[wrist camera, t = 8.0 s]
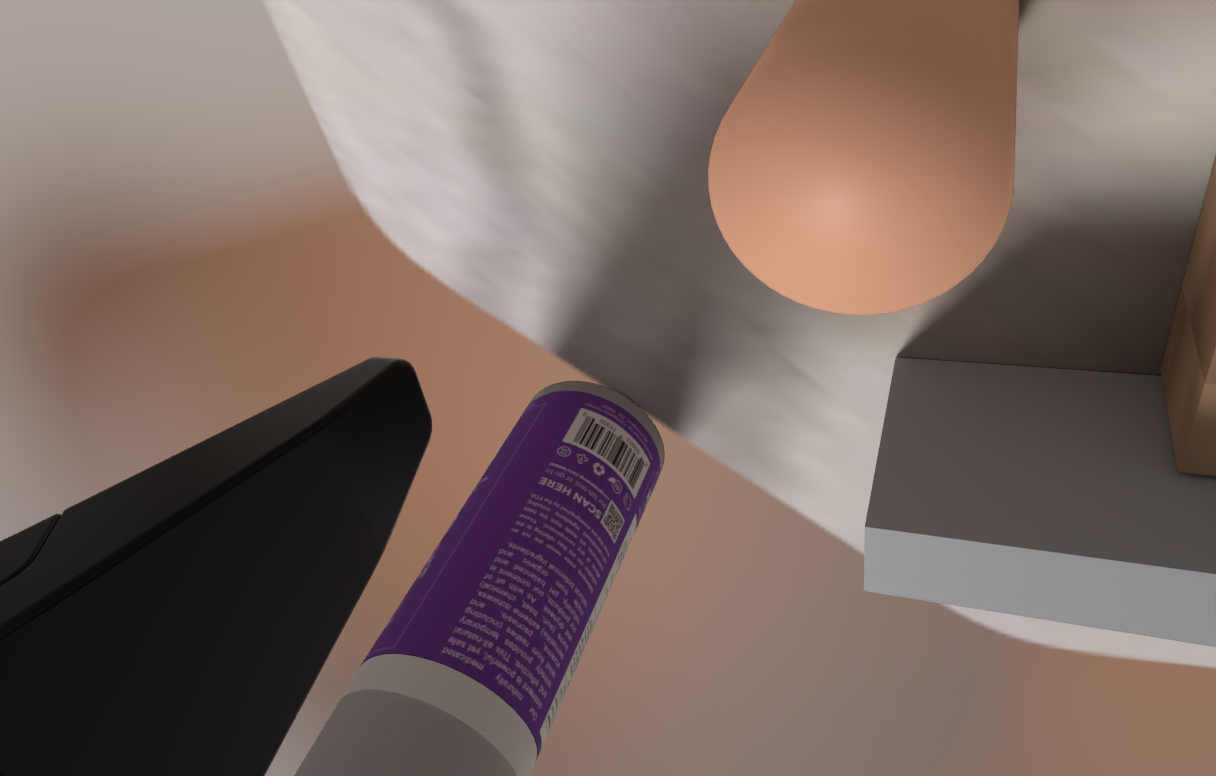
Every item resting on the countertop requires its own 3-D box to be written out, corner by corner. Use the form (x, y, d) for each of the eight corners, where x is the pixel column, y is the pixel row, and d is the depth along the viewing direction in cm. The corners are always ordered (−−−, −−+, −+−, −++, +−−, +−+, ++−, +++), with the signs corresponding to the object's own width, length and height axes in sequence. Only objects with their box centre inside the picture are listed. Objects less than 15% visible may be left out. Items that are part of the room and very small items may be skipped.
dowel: (1032, -115, 16) (1032, 30, 10) (1007, 105, 19) (998, 322, 13) (805, -92, 18) (694, 46, 12) (809, 110, 20) (720, 307, 14)
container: (506, 380, 28) (184, 846, 18) (644, 378, 26) (376, 902, 16) (551, 490, 31) (294, 956, 20) (680, 496, 29) (472, 1017, 18)
